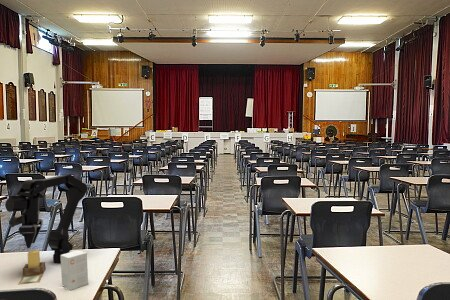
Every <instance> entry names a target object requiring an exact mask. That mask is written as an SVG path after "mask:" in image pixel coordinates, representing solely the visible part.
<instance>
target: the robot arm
mask: <svg viewBox="0 0 450 300" xmlns="http://www.w3.org/2000/svg"><path fill="white" fill-rule="evenodd" d="M60 185H64V187H65V188H66V189H67V197H68V198H67V201H66V204H65V206H64V209H63V212H62V214H61V217H60V219H59V222H58V225H57V228H56V229H54V230H51V231H50V232H49V235H48V237H47V239H48V240H47V244H48V246H49V248H50V249H51V251H53V255H52V258H53V259H52V262H53V264H61V256H60V255H62V254H66V253H70V252H72V250H73V248H74V245H73V244H72V243H71V242H69V240H70V234H69V229H70V226H71V223H72V221H73V218H74V216H75V214H76V210H77V207H78V205H79V202H80V201H81V200H82V199H84V197H85V195H86V194H87V191H88V186H87V184H86V182H83V181H81V180H79V179H78V178H76V177H75V176H73V174H69V173H68V174H67V173H63V174H60V175H57V176H53V177H47V178H42V179H26V180H24V181H23V183H22V185H21V187H20V188H19V190H18V192H17V193H16V194H9V195H8V198H7V199H6V201H5V202H4V203H5V204H4V206H5V210H6V211H7V212H9V213H12V212H20V211H21V212H22V211H23V212H22V213H21V215H18V216H15V215H14V216H12V217H10V218H9V220H8V225H10V228H14V227H15V226H19V225H20V226H19V227H18V234H19V235H21V236H23V239H24V241H25V246H26V248H27V249H30V248H31V246H32V244H35V242H36V241H37V238H38V236H39V234H40V232H41V229H42V227H43V225H44V224H43V223H44V222H43V219H42V218H40V214H41V211H40V199H43V198H45V196H44V195H43V194H41V193H42V192H44V191H45V190H47V189H49V188H53V187H57V186H60Z"/></svg>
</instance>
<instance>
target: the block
mask: <svg viewBox="0 0 450 300" xmlns="http://www.w3.org/2000/svg"><path fill="white" fill-rule="evenodd" d="M40 262H41V257H40V249H37V250H29V251H28V252H27V264H28V268H34V267H40Z"/></svg>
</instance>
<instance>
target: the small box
mask: <svg viewBox="0 0 450 300" xmlns="http://www.w3.org/2000/svg"><path fill="white" fill-rule="evenodd" d="M69 252H70V253H66V254H62V255H60V256H61V263H60V269H61V285H62V288H64V289H66V288H67V289H66V290H68V289H69V290H68V291H73V290H75V289H77V288H81V287H83V286H87V285H89V276H88V275H89V273H88V271H89V270H88V253H87V252H86V251H82V250H80V249H77V250H74V251H69Z"/></svg>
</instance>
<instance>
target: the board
mask: <svg viewBox="0 0 450 300" xmlns="http://www.w3.org/2000/svg"><path fill="white" fill-rule="evenodd" d="M44 273H45V272H44ZM44 273H43V274H40V275H33V276H23V275H22V277H21V279H20V280H19V282H18V284H17V285H18V286H19V285H28V284H37V283H40V282H41V281H42V277H43V275H44Z"/></svg>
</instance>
